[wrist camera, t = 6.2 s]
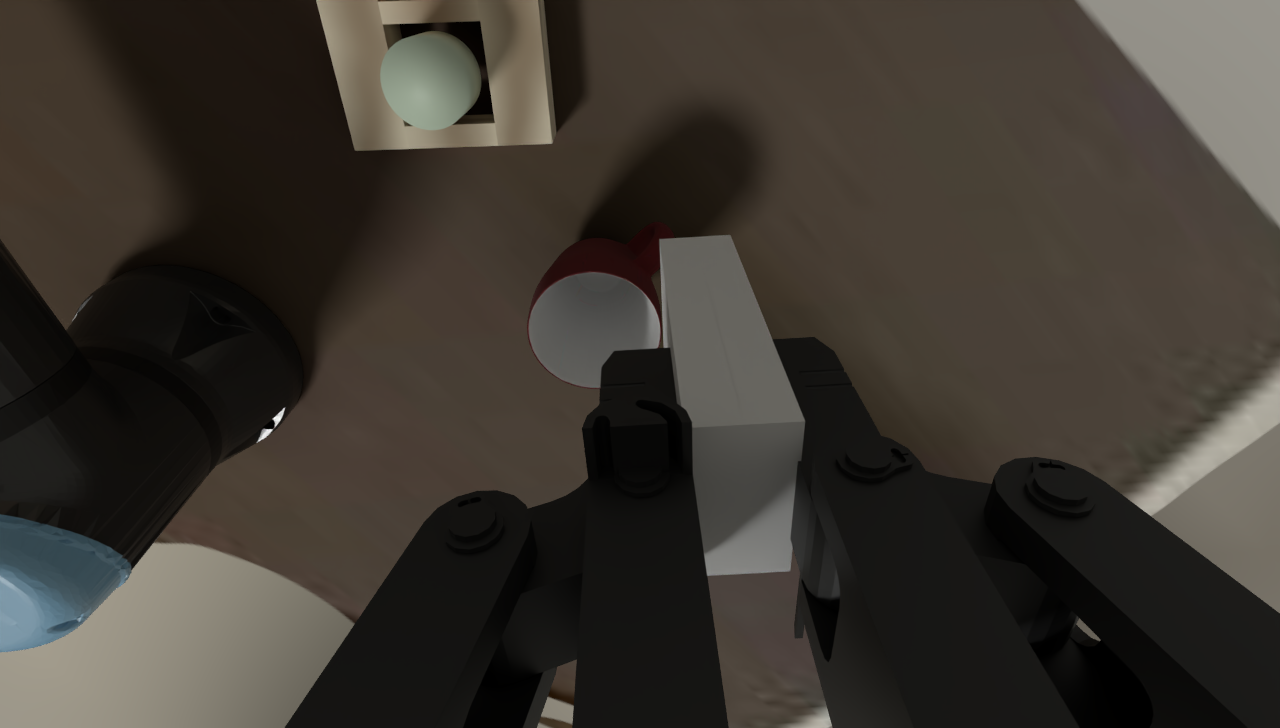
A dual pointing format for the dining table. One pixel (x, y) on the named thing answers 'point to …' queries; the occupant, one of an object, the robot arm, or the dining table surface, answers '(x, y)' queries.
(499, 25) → the button board
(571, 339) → the mug
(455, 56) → the button sage
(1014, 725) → the robot arm
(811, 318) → the dining table surface
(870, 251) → the dining table surface
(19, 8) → the dining table surface
